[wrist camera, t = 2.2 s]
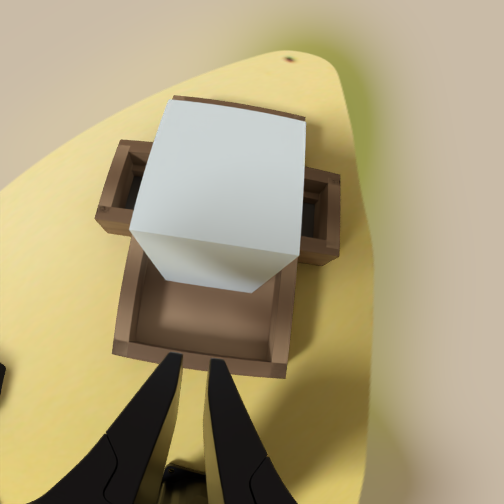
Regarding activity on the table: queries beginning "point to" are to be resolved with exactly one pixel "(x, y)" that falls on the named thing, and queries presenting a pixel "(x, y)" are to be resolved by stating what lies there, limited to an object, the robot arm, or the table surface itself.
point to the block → (222, 196)
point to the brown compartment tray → (207, 298)
